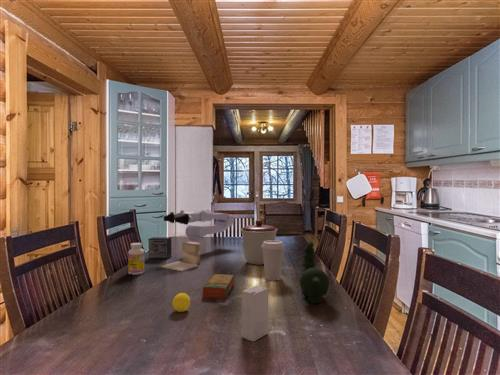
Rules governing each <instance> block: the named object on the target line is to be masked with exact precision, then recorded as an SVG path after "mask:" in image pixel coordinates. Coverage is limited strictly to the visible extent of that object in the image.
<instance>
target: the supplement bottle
mask: <svg viewBox="0 0 500 375" xmlns="http://www.w3.org/2000/svg"><path fill="white" fill-rule="evenodd" d="M142 247H143V244H142V242H132V243H130V249H129V250H128V252H127V259H128V260H127V261H128V262H127V264H128V265H127V266H128V267H127V268H128V270H127V272H128V275H131V274H132V275H133V276H137V275H141V274H144V273H145V249H143V248H142Z"/></svg>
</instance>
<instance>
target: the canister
mask: <svg viewBox="0 0 500 375" xmlns="http://www.w3.org/2000/svg"><path fill="white" fill-rule="evenodd" d="M263 223H264V222H263V220H262V219H257V220H255V224H249V225H244V226H243V227H242V228H240V232H241V235H242V246H243V253H244V259H245V261H246V263H248V264H250V265H254V264H255V266H256V265H257V266H262V265H263V264H264V260H263V249H262V248H261V246H262V244H263V242H264V241H269V240H276V239H277V238H276V236H277V232H278V228H276V227H275V226H274V225H269V224H263ZM263 266H264V265H263Z"/></svg>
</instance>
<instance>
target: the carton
mask: <svg viewBox="0 0 500 375" xmlns="http://www.w3.org/2000/svg"><path fill="white" fill-rule="evenodd" d="M234 281H235V276H234V274H221V273H220V274H217V273H216V274H215V273H214V274H213V275H212V276H211V277H210V278H209V279H208V281H207V282H206V283H204V285H203V286H202V299H222V300H223V299H224V300H226V299H227V298H228V296H229V294H230V292H231V290H232V288H233V287H234V285H235V284H234V283H235V282H234Z"/></svg>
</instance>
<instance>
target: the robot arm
mask: <svg viewBox="0 0 500 375" xmlns="http://www.w3.org/2000/svg"><path fill="white" fill-rule="evenodd" d="M213 220H215V223H214V224H212V225H204V226H203V225H202V226H200V225H199V226H198V225H189V224H190V223H196V222H203V223H205V222H211V221H213ZM163 221H164V222H169V223H171V224H175V223H178V224H181V225H186V228H185V235H186V236H187V238H188V242H196V243H200V256H201V255H205V254H208V252H207V239H206V238H204V237H205V236H206V237H207V236H208V235H212V234H219V233H223V232H225V231H226V230H227V229H228V228H231V227H232V226H233V225H234V222H235V216H234V215H233V214H229V213H224V212H212V211H210V210H209V209H206V210H204V209H202V210H194V211H187V212H186V211H185V210H183V209H181V210H180V211H179V212H178V213H175V212H174V211H173V212H172V211H171V212H170V213H168V214H167V215H164V216H163Z"/></svg>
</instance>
